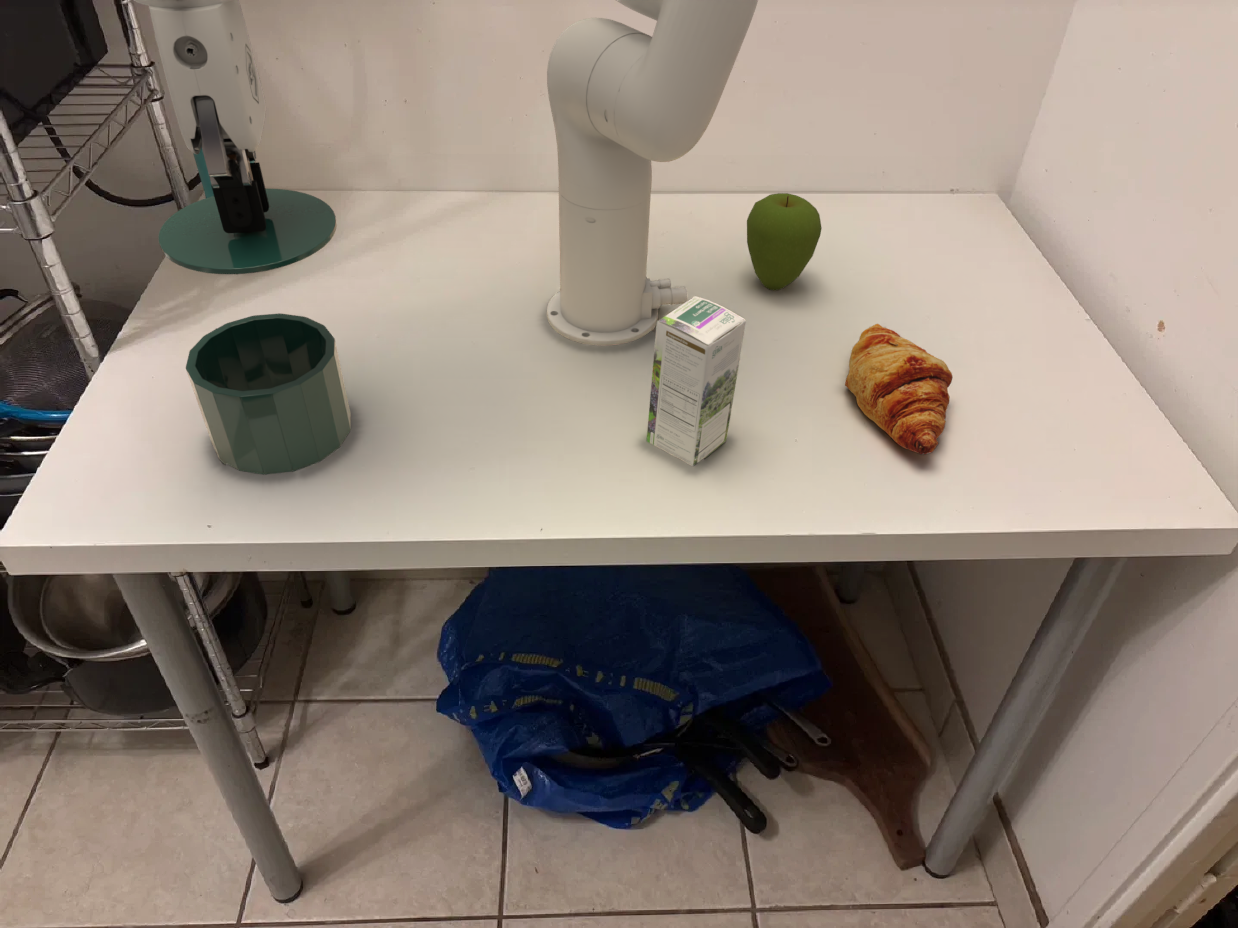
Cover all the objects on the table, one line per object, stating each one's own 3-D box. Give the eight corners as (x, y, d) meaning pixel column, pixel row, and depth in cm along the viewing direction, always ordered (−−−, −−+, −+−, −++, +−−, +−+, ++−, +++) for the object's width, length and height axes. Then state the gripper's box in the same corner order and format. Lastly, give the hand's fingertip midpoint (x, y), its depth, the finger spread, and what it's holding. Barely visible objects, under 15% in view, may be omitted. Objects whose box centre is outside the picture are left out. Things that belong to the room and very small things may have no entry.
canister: (352, 387, 95) (335, 308, 89) (351, 469, 86) (332, 387, 79) (222, 400, 93) (196, 319, 86) (207, 485, 84) (176, 402, 77)
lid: (339, 195, 82) (325, 121, 77) (336, 274, 72) (321, 194, 67) (175, 205, 79) (151, 129, 75) (149, 288, 69) (120, 206, 65)
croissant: (837, 367, 106) (815, 314, 101) (924, 331, 103) (905, 275, 98) (889, 493, 90) (865, 437, 85) (992, 454, 87) (974, 394, 82)
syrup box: (680, 417, 93) (692, 291, 83) (729, 442, 90) (747, 315, 80) (645, 445, 90) (653, 317, 80) (694, 472, 87) (709, 343, 77)
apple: (823, 294, 111) (842, 205, 103) (763, 309, 108) (778, 218, 100) (784, 260, 117) (798, 173, 109) (726, 273, 114) (736, 185, 106)
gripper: (230, 2, 57) (291, 268, 69) (252, -62, 69) (300, 175, 81) (99, 6, 56) (184, 276, 68) (144, -61, 67) (210, 180, 80)
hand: (247, 219), depth 74 cm, fingers closed on lid, 2 cm apart
